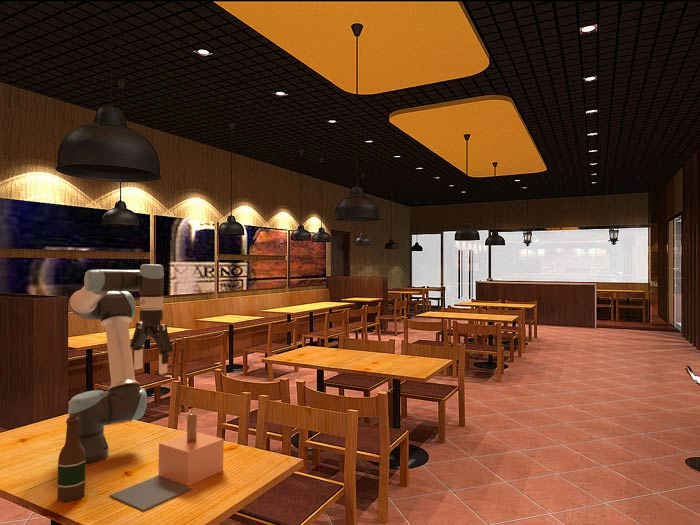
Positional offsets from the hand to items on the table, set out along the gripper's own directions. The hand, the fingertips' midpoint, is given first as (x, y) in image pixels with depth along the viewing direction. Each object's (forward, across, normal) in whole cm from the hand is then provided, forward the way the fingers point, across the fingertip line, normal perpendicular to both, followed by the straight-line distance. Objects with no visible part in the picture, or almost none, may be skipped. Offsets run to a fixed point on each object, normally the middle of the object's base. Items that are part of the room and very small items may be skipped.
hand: (150, 371), depth 168 cm
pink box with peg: (+35, +12, +8) cm, 38 cm away
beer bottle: (+35, -4, -24) cm, 43 cm away
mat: (+35, +14, -9) cm, 38 cm away
